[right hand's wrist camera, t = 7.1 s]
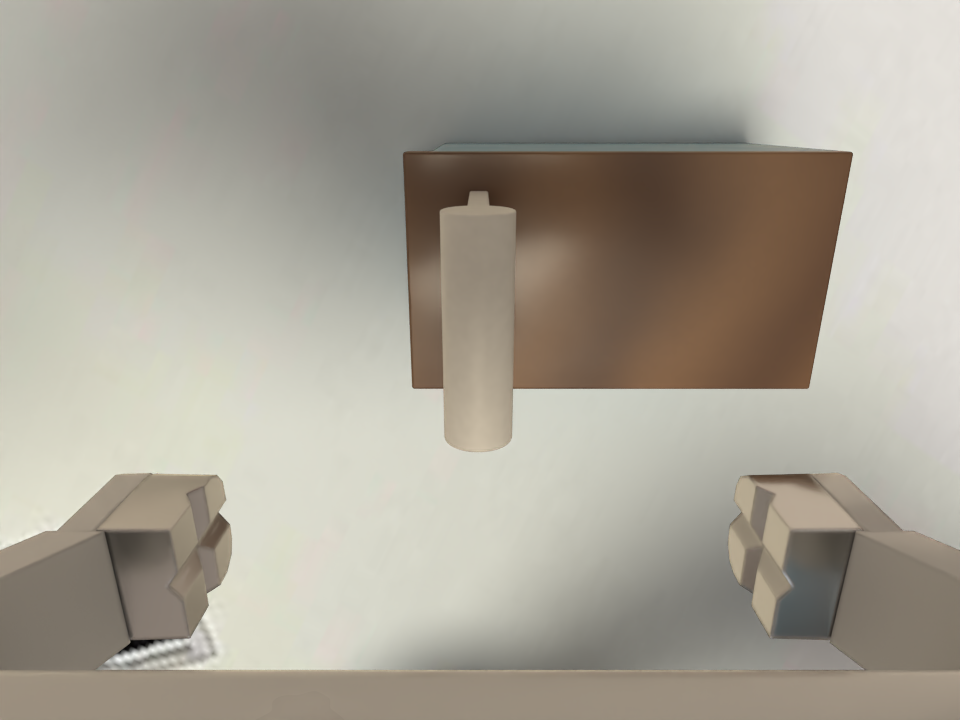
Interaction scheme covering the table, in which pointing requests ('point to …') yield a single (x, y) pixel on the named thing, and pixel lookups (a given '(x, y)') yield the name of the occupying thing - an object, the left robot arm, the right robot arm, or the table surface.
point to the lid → (614, 273)
